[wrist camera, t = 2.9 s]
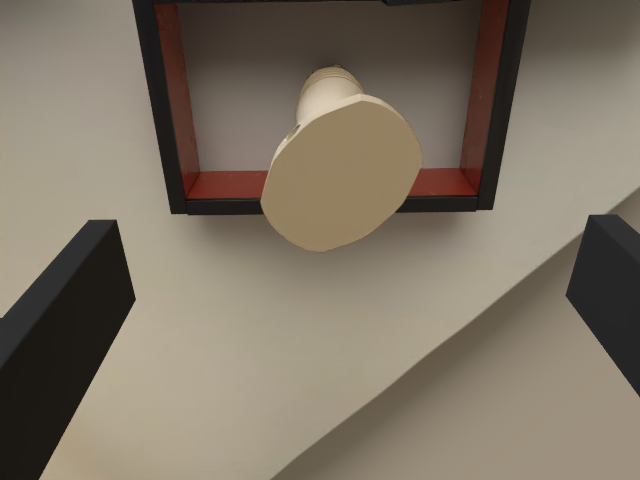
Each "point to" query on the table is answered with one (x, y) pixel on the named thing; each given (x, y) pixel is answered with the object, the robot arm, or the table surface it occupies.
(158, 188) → the table surface
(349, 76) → the handle
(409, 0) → the book
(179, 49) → the red black rectangular frame
